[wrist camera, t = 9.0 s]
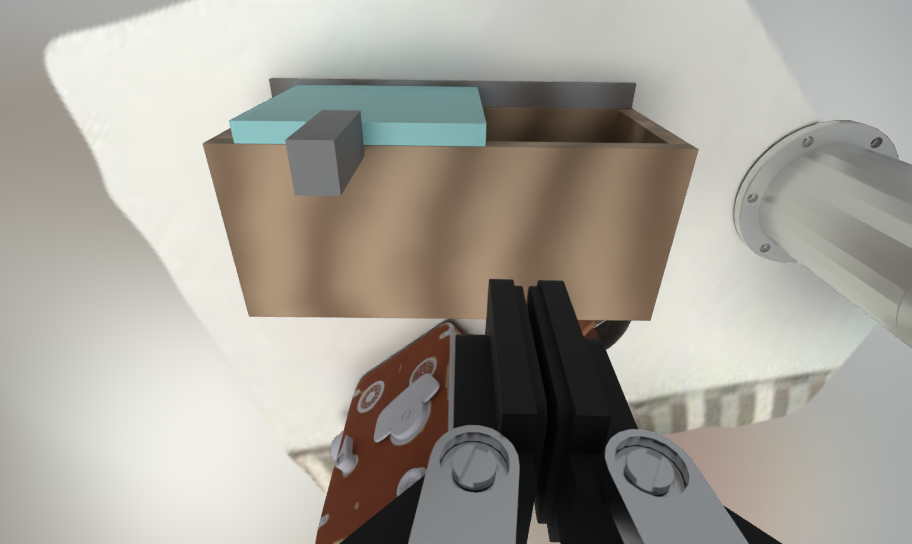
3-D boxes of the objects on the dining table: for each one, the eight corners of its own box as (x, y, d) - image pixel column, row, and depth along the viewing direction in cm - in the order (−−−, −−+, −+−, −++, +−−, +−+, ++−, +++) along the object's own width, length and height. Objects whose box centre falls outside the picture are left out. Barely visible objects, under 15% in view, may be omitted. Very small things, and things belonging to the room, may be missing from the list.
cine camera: (315, 394, 52) (246, 587, 35) (445, 305, 46) (439, 486, 29) (372, 436, 56) (335, 630, 39) (500, 359, 50) (523, 549, 32)
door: (477, 78, 34) (495, 142, 19) (476, 111, 36) (492, 197, 20) (296, 76, 34) (162, 138, 19) (301, 109, 36) (179, 193, 20)
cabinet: (634, 83, 35) (707, 116, 25) (603, 242, 42) (650, 320, 32) (270, 78, 35) (193, 110, 25) (299, 239, 42) (249, 316, 32)
